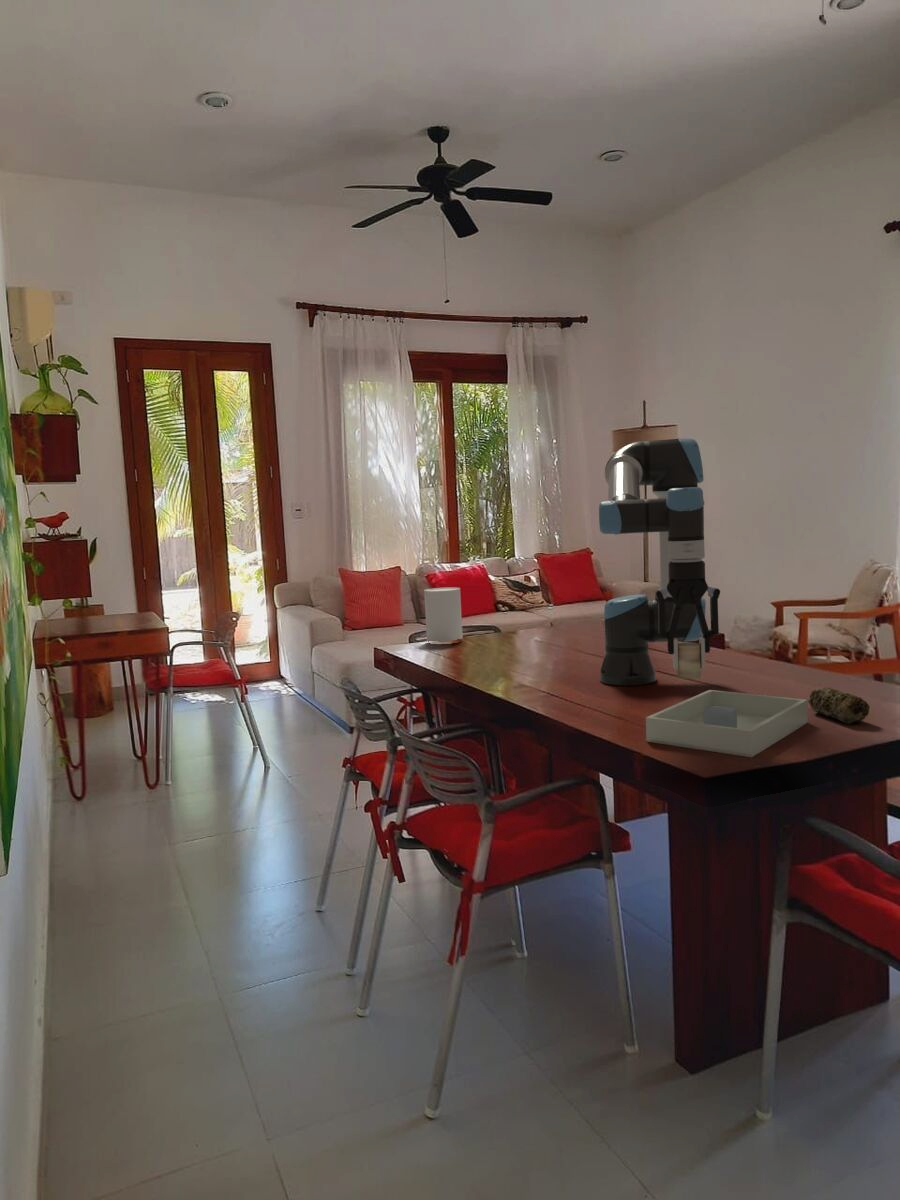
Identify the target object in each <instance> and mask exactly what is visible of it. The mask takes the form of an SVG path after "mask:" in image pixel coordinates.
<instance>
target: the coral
mask: <svg viewBox="0 0 900 1200" xmlns="http://www.w3.org/2000/svg"><path fill="white" fill-rule="evenodd" d="M807 703H808V704H809V706H810V707H811V710H813V712H816V713H817V714H820V715H824V716H826V717H829V718H831V719H834V720H838V721H840V722H842V723H845V724H848V725H850V724H853V723H854V724H857V723H859V722H862V721H863V720H865V719H866V717H868V715H869V714H870V713H869V712H870V704H869V703H868V702H867V701H866V700H864V699H863V697H860V696H857V695H854V694H851V693H849V692H844V691H842V690H841V691H840V690H838V689H835V688H832V687H825V686H824V687H822V688H818V689H814V690H811V692H810V693H809V700H808V699H807Z"/></svg>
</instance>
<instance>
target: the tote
mask: <svg viewBox="0 0 900 1200" xmlns="http://www.w3.org/2000/svg"><path fill="white" fill-rule="evenodd" d="M712 706H719V707H727V708H736V709H737V728H732V727H724V726H717V725H709V724H703V711H704V710H706V709H708V708H710V707H712ZM808 721H809V719H808V699H805V698H804V699H802V698H793V697H792V698H791V697H783V696H774V695H773V696H772V695H764V694H754V693H753V694H752V693H747V692H746V693H744V692H737V691H736V692H735V691H725V690H715V689H708V690H705V691H704V692H701V693H699V694H697V695H695V696H692V697H690V698H687V699H685V700H682V701H681V702H678V703H675V704H673V705H671V706H669V707H667V708H664V709H662V710H659V711H658V712H655V713H653V714H651V715H648V716H646V717H645V729H646V731H645V735H646V736H645V737H646V738H645V739H646V742H649V743H654V744H661V745H668V746H675V747H682V748H686V749H693V750H694V749H695V750H699V751H708V752H715V753H719V754H727V755H734V756H741V757H747V758H753V757H754V756H756V755H758V754H759V753H761V752H763V751H765V750H767V748H769V747H771V746H773V745H774V744H776V743H777V742H779V741H780V740H783V738H785V737H787V736H788V735H790V734H791V733H794V732H795V731H797V730H799V729H800V728H801V727H803V726H804V725H806V724H808Z"/></svg>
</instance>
